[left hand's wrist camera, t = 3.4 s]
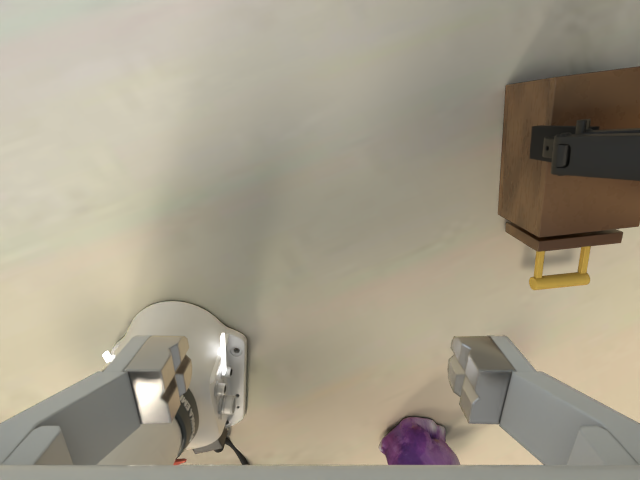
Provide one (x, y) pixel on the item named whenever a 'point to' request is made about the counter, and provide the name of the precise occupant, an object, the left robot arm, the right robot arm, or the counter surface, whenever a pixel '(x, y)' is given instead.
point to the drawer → (562, 242)
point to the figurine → (417, 444)
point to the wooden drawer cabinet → (535, 176)
